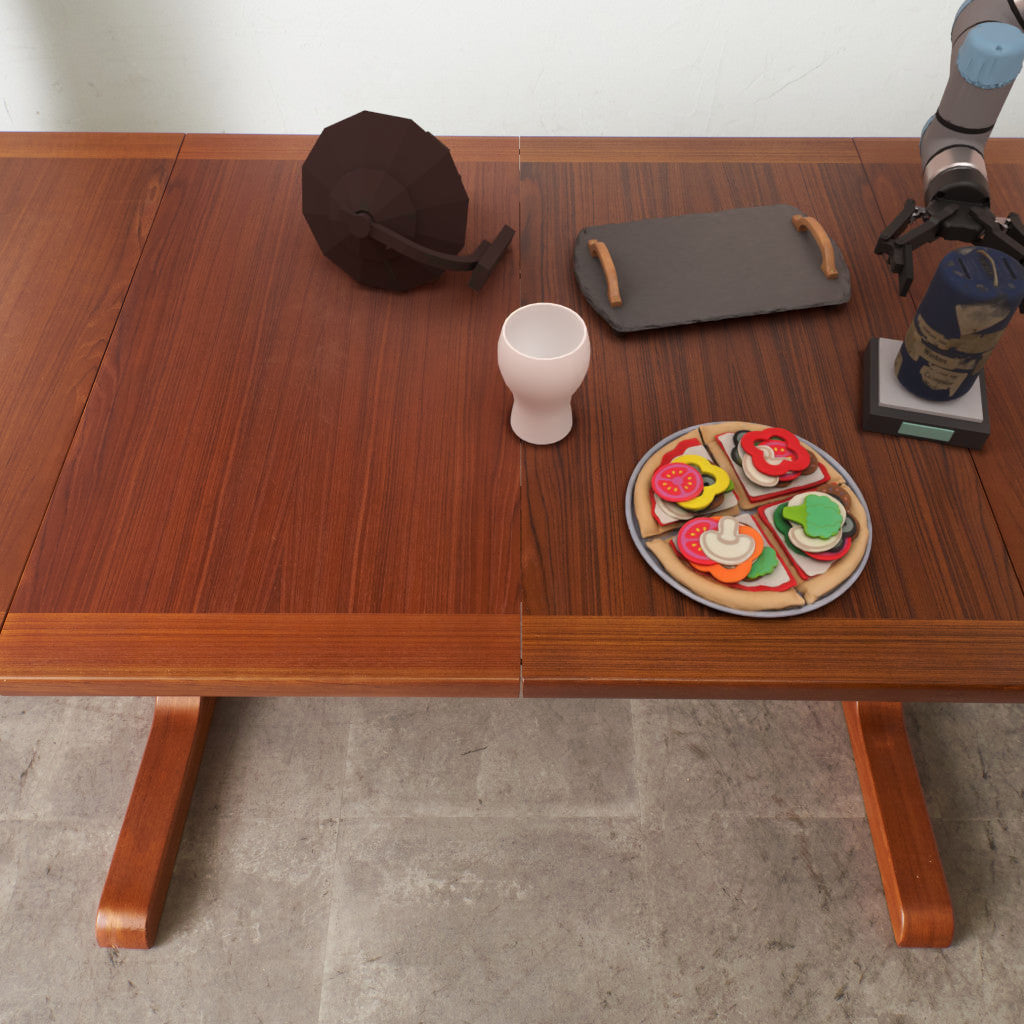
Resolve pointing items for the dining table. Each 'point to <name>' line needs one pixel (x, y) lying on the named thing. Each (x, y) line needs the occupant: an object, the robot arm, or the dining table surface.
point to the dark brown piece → (391, 205)
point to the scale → (919, 404)
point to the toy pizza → (748, 519)
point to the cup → (543, 368)
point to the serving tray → (708, 267)
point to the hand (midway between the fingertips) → (967, 296)
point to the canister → (959, 322)
